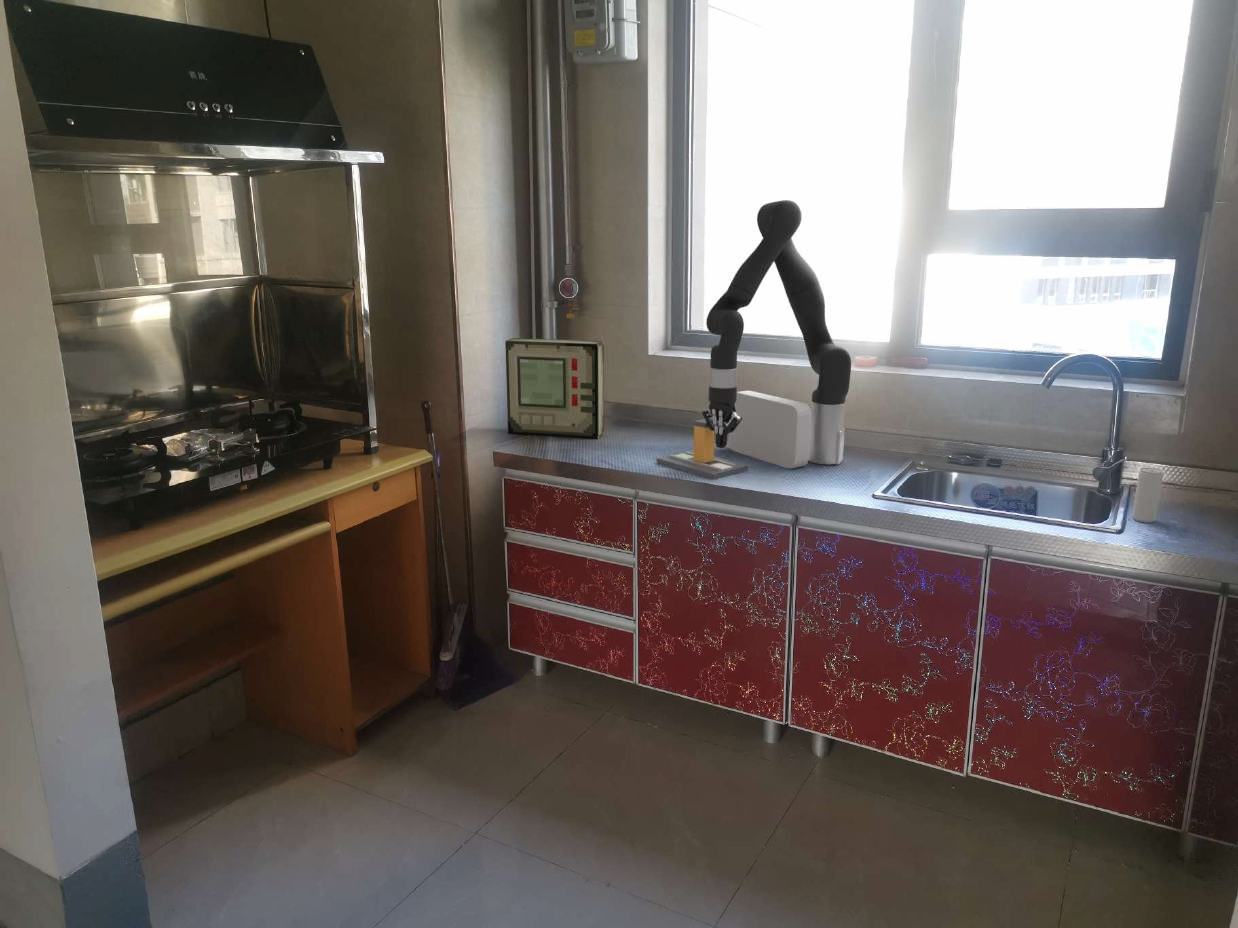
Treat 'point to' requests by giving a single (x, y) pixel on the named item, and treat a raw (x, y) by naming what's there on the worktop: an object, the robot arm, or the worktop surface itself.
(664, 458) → the plate
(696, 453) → the handle
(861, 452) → the worktop surface
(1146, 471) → the beverage can
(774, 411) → the rounded white slab
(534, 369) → the control panel
